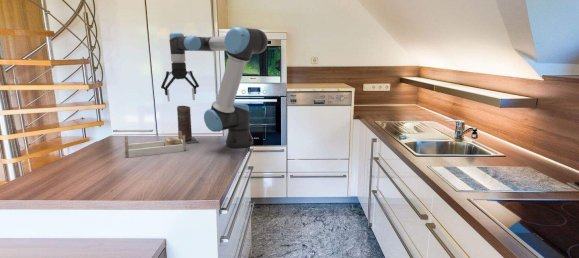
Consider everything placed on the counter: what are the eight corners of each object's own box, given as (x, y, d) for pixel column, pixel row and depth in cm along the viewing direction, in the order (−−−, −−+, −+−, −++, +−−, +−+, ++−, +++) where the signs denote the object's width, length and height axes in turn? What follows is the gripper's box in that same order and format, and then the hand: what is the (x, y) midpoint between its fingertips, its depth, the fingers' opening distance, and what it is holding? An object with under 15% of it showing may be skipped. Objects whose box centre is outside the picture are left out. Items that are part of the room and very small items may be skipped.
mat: (194, 137, 200) (193, 136, 200) (198, 142, 187) (198, 142, 187) (169, 139, 194) (169, 139, 194) (172, 145, 181) (172, 144, 181)
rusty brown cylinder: (187, 138, 196) (185, 104, 192) (195, 139, 192) (192, 106, 188) (176, 140, 190) (173, 106, 186) (183, 142, 186) (181, 107, 182)
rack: (182, 145, 182) (181, 130, 180) (186, 150, 171) (185, 135, 169) (126, 150, 170) (124, 135, 169) (126, 157, 159) (124, 141, 157)
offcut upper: (176, 142, 178) (176, 136, 178) (180, 144, 173) (180, 139, 172) (165, 143, 175) (165, 138, 175) (168, 146, 169) (168, 140, 169)
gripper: (200, 62, 190) (202, 98, 194) (153, 62, 179) (157, 101, 183) (202, 61, 183) (205, 99, 187) (154, 62, 172) (158, 102, 177)
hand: (181, 100), depth 185 cm, fingers open, 13 cm apart
